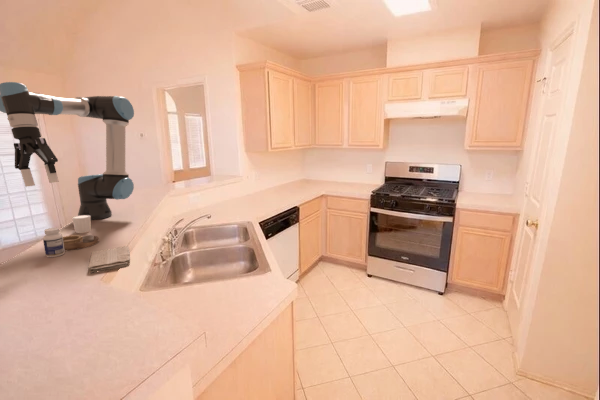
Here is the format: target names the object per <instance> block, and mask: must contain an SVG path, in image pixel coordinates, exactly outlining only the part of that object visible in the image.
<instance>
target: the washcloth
mask: <svg viewBox="0 0 600 400" xmlns="http://www.w3.org/2000/svg"><path fill="white" fill-rule="evenodd" d="M130 264H131V252H130V248H129V245H123V246H118V247H115V248H110V249H108V248H107V249H100V250H95V251H92V252H91V255H90V258H89V263H88V267H87V269H88V274H89V273H90V274H92V273H91V272H93V273H94V272H96V273H98V272H97V271H103V272H108V271H115V270H119V269H124V268H128V267H130V266H131V265H130Z"/></svg>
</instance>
